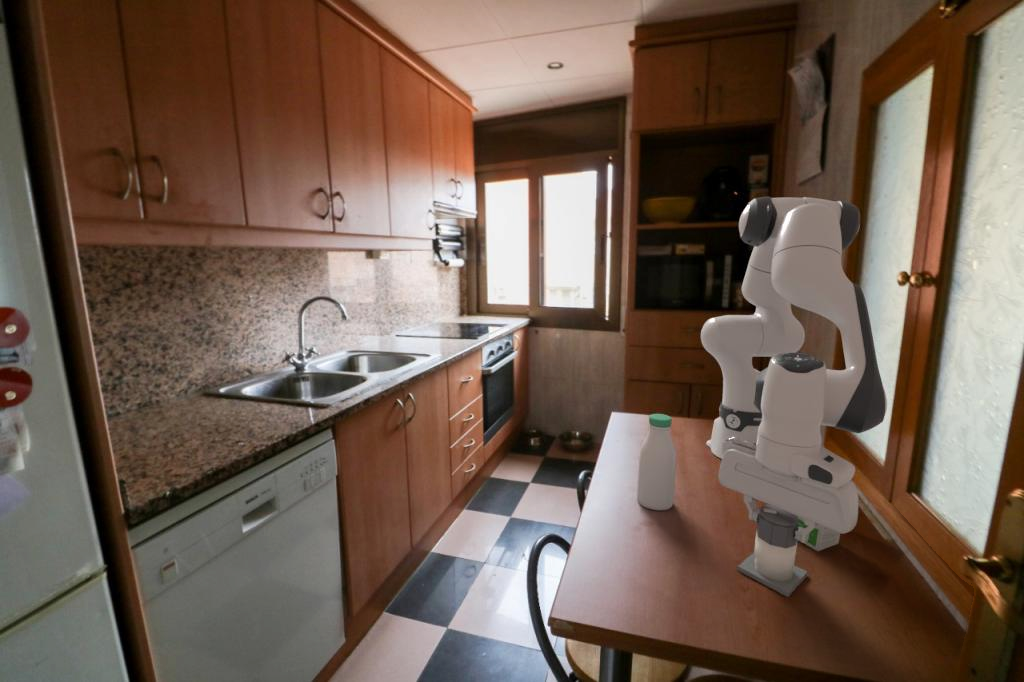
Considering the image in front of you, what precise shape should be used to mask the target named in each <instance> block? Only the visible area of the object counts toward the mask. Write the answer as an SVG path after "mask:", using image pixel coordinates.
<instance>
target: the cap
mask: <svg viewBox="0 0 1024 682" xmlns="http://www.w3.org/2000/svg"><path fill="white" fill-rule="evenodd" d="M759 510H760V511H759V516H758V523H757V527H756V531H757V533H758V537H759V538H760V539H762V540H764V541H765V542H767V543H768V544H770V545H773V546H778V547H782V548H789V547H792V546H795V545H796V541H797V542H798V540H795V536H796V535H795V530H796V529H798V526H799V525H798V516H797V515H794V514H792V513H789V512H787V511H784V510H782V509H779V508H777V507H774V506H772V505H769V504H763V505H761V507H760V508H759Z"/></svg>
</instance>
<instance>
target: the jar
mask: <svg viewBox="0 0 1024 682" xmlns="http://www.w3.org/2000/svg"><path fill="white" fill-rule="evenodd" d="M797 548H798V540H797V541H796V545H795V546H792V547H789V548H782V547H778V546H773V545H770V544H768V543H767V542H765V541H764V540H762V539H760V538H759V537H758V533H757V530H756V532H755V541H754V551H753V553H750V555H748V557H747V558H745V559H744V560H743V561H742V562H741V563H740V564H739V565H738V566H737V571H738V572H740V573H742V574H744V575H746V577H749V578H751V579H753V580H755V581H757V582H759V583H761V584H762V585H764V586H766V587H768V588H770V589H772V590H774V591H776V592H777V593H780V594H781V595H783V596H785V597H787V598H789V597H790V596H791V595H792V594H793V592H795V590H796V589H797V588H798V587H799V586H800V585H801V583H802V582H803V581H804V580H805V579H806V578H807V577H808V571H807V570H805V569H803V568H800V567H799V566H797V565H795V564H796V563H795V562H796V555H797ZM797 586H798V587H797ZM796 587H797V588H796ZM795 588H796V589H795Z"/></svg>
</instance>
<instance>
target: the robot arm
mask: <svg viewBox="0 0 1024 682" xmlns="http://www.w3.org/2000/svg"><path fill="white" fill-rule="evenodd" d="M860 226H861V213H860V210H859V208H858V206H857V205H856V204H853V203H850V202H846V201H842V200H836V201H833V200H829V199H823V198H816V197H808V196H807V197H806V196H803V197H790V196H789V197H771V196H761V197H755V198H753V199H752V200H751V201H749V202H748V203H747V204H746V206H745V208H744V209H743V211H742V212H741V215H740V216H739V221H738V231H739V238H740V239H741V240H742V242H743V243H745V244H747V245H749V246H752V247H753V249H752V252H751V255H750V257H749V260H748V263H747V268H746V271H745V275H744V278H743V281H742V285H741V294H742V295H743V297H744V299H745V300H746V301H747V302H748V303H750V304H752V305H753V306H755V312H754V313H753V314H748V315H747V314H725V315H721V316H715V317H711V318H709V319H707V320H706V321H705V322H704V324H703V326H702V328H701V331H700V340H701V341H700V342H701V344H702V347H703V348H704V350H706V352H708V353H709V354H710V355H711V357H713V358H714V359H715V361H716V362H717V363H718V365H719V367H720V369H721V373H722V378H723V379H722V384H723V385H722V401H721V402H720V405H719V408H718V410H719V412H718V415H719V416H718V417H717V418H715V419H714V421H713V426H712V432H711V438H710V439H709V440H706V446H707V447H709V448H710V450H711V451H710V452H711V453H712V454H713V456H715V457H718V458H719V459H721V462H720V466H719V470H718V475H717V476H718V477H717V478H718V481H719V483H720V484H721V486H722V487H724V488H728V489H730V490H732V491H735V492H737V493H739V494H742V495H743V502H744V504H745V506H746V508H747V510H748V520H750V521H752V522H755V523H757V524H758V516H759V511H760V508H759V509H758V505H757V503H756V501H755V500H757V501H760V502H762V503H765V504H766V505H772V506H774V507H777V508H779V509H782V510H784V511H787V512H789V513H792V514H794V515H797V516H799V517H802V518H804V519H805V525H807V526H808V525H809V526H808V527H806V528H802V527H799V528H798V529H796V530H795V535H796V536H795V540H797V542H800V543H803V544H804V545H806V544H805V543H806V542H807V541H808V539H809V532H810V531H812V530H813V529H814V528H815V527H816V526H817V525H818V524H819V525H821V526H824V527H826V528H829V529H831V530H834V531H836V532H839V533H840V534H843V535H845V534H846V533H847V534H848V533H849V532H851V531H853V530H854V528H855V527H856V525H857V524H858V516H859V494H858V489H857V487H856V485H855V483H854V482H853V481H852V479H853V477H854V476H855V473H856V467H855V465H854V464H853V463H851V462H850V461H848V460H847V459H845V458H843V457H841V456H839V455H837V454H836V453H835V452H832V451H830V450H829V449H827V448H825V447H824V446H823V445H822V435H821V426H826V427H833V428H834V429H838V430H843V431H846V432H850V433H856V434H862V433H864V432H867V431H869V430H871V429H874V428H876V427H878V426H879V425H880V424H882V423H883V421H884V420H885V416H886V414H887V407H888V400H887V395H886V391H885V388H884V385H883V381H882V378H881V377H882V376H881V374H880V370H879V364H878V360H877V355H876V349H875V347H876V346H875V341H874V337H873V329H872V325H871V319H870V315H869V310H868V304H867V301H866V297H865V294H864V291H863V289H862V288H861V286H860V285H858V284H857V283H855V282H852V281H851V280H850V279H849V278H848V277H847V275H846V273H845V272H844V269H843V266H842V265H843V264H842V257H843V256H842V255H843V251H844V250H845V249H847V248H848V247H850V246H851V245H852V243H853V242H854V241H855V239H856V237H857V235H858V232H859V231H860ZM792 305H794V306H795V307H798V308H800V309H803V310H806V311H809V312H812V313H814V314H817V315H819V316H821V317H824V318H826V319H827V320H829V321H831V322H832V323H833V324H834V325H836V327H837V328H838V330H839V332H840V337H841V342H842V350H843V355H844V363H845V369H841V370H837V369H828V368H827V366H826V365H827V364H826V363H825V362H824V361H823V360H822V359H820V357H816V356H814V355H811V354H808V353H802V352H798V351H800V349H802V347H803V345H804V343H805V339H806V335H805V334H806V333H805V328H804V327H803V324H802V323H801V322H800V321H799V319H797V318H796V317H795V316H794V314H793V312H792V311H793V310H792ZM753 357H762V358H763V357H769V358H770V357H771V358H770V360H769V363H768V366H767V367H765V368H764V369H762V370H761V371H759V370H758V369H757V368H754V366H753Z"/></svg>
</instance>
